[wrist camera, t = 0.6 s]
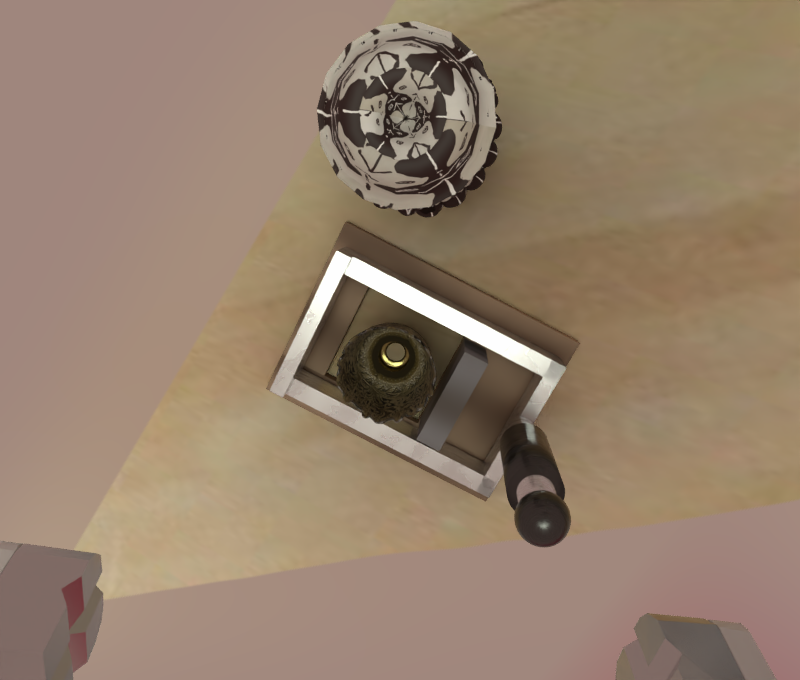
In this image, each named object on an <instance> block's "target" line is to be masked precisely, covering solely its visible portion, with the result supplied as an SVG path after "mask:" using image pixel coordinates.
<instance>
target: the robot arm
mask: <svg viewBox="0 0 800 680" xmlns="http://www.w3.org/2000/svg"><path fill="white" fill-rule="evenodd" d="M101 573H102V565H101V555H99V554H96V553H89V552H81V551H74V550H67V549H59V548H52V547H45V546H37V545H30V544H20V543H13V542H5V541H0V680H73V672H75V671H76V670H77V669H79V668H80V667H81V666H83V665H84V664H85V663H86V662H87V661H88V659H89V657H90V654H91V652H92V649H93V647H94V645H95V642H96V638H97V634H98V631H99V627H100V624H101V620H102V612H103V592H102V591H101V590H100V589H99V588H98V587H97V586H96V583H97V581H98V579H99V577H100V575H101ZM634 630H635V633H636V635H637V638H638V639H637V640H635V641H634V642H632V643H630V644H629V645H627V646H625V647H624V648H623V650H622V652H621V654H620V657H619V659H618V661H617V668H616V680H776V678H775V676H774V674H773V672H772V671H771V669H770V667H769V665H768V664H767V662H766V660H765V659H764V657H763V655H762V653H761V651H760V649H759V648H758V646H757V645H756V643H755V641H754V639H753V637H752V635H751V634H750V632H749V631H748V629H746V628H745V627H744V626H743V625H742V624H741V623H734V622H725V621H716V620H706V619H701V618H691V617H681V616H671V615H660V614H649V613H647V614H645V615H644V616H642V617H640V619H639V620H638V622H637V624H636V626H635V627H634Z"/></svg>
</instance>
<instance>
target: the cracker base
mask: <svg viewBox="0 0 800 680" xmlns="http://www.w3.org/2000/svg"><path fill="white" fill-rule="evenodd" d="M344 247H347V248H349V249H351V250H353V251H355V252H357V253H359V254H361V255H363V256H364V257H366V258H368V259H370V260H372V261H374V262H376V263H378V264H380V265H382V266H384V267H386V268H388V269H390V270H392V271H393V272H395V273H397V274H399V275H401V276H403V277H405V278H407V279H409V280H411V281H413V282H415V283H417V284H419V285H420V286H422V287H424V288H426V289H428V290H430V291H432V292H434V293H436V294H438V295H440V296H442V297H444V298H446V299H447V300H449V301H451V302H453V303H455V304H457V305H459V306H461V307H463V308H465V309H467V310H469V311H471V312H473V313H475V314H476V315H478V316H480V317H482V318H484V319H486V320H488V321H490V322H492V323H494V324H496V325H498V326H500V327H502V328H503V329H505V330H507V331H509V332H511V333H513V334H515V335H517V336H519V337H521V338H523V339H525V340H527V341H529V342H530V343H532V344H534V345H536V346H538V347H540V348H542V349H544V350H546V351H548V352H550V353H552V354H554V355H556V356H558V357H559V358H561V359H562V361H563V362H564V364H565V366H567V364H568V363H569V361H570V359H571V357H572V356H573V354H574V352H575V351H576V349H577V347H578V346H579V344H580V343H579V342H578V341H577V340H575V339H573V338H571V337H569V336H567V335H565V334H563V333H562V332H560V331H558V330H556V329H554V328H552V327H550V326H548V325H546V324H544V323H542V322H540V321H538V320H536V319H535V318H533V317H531V316H529V315H527V314H525V313H523V312H521V311H519V310H517V309H515V308H513V307H511V306H509V305H508V304H506V303H504V302H502V301H500V300H498V299H496V298H494V297H492V296H490V295H488V294H486V293H484V292H483V291H481V290H479V289H477V288H475V287H473V286H471V285H469V284H467V283H465V282H463V281H461V280H459V279H457V278H456V277H454V276H452V275H450V274H448V273H446V272H444V271H442V270H440V269H438V268H436V267H434V266H432V265H430V264H429V263H427V262H425V261H423V260H421V259H419V258H417V257H415V256H413V255H411V254H409V253H407V252H405V251H404V250H402V249H400V248H398V247H396V246H394V245H392V244H390V243H388V242H386V241H384V240H382V239H380V238H378V237H377V236H375V235H373V234H371V233H369V232H367V231H365V230H363V229H361V228H359V227H357V226H355V225H353V224H351V223H350V222H345V224H344V226H343V228H342V231H341V233H340V235H339V237H338V239H337V241H336V243H335V245H334V247H333V249H332V252H331V254H330V256H329V258H328V260H327V262H326V264H325V266H324V268H323V270H322V273H321V275H320V277H319V279H318V281H317V283H316V285H315V287H314V289H313V291H312V293H311V296H310V298H309V300H308V302H307V304H306V306H305V308H304V310H303V312H302V314H301V317H300V319H299V321H298V323H297V325H296V327H295V329H294V331H293V333H292V335H291V338H290V340H289V342H288V344H287V346H286V348H285V350H284V352H283V354H282V356H281V358H280V361H279V363H278V365H277V367H276V369H275V371H274V373H273V375H272V377H271V379H270V382H269V384H268V386H267V388H266V389H267V390H269V391H270V389H271V386H272V384H273V382H274V380H275V378H276V376H277V374H278V372H279V370H280V368H281V366H282V363H283V361H284V359H285V357H286V355H287V353H288V351H289V349H290V347H291V345H292V343H293V340H294V338H295V336H296V334H297V332H298V330H299V328H300V326H301V324H302V322H303V320H304V318H305V315H306V313H307V311H308V309H309V307H310V305H311V303H312V301H313V299H314V297H315V295H316V292H317V290H318V288H319V286H320V284H321V282H322V280H323V278H324V276H325V274H326V272H327V269H328V267H329V265H330V263H331V261H332V259H333V257H334V255H335V253H336V251H337V250H339V249H341V248H344ZM368 288H369V286H367V285H365V284H363V283H361V282H359V281H357V280H355V279H353V278H351V277H349V276H347V278H346V281H345V283H344V285H343V287H342V289H341V291H340V293H339V295H338V297H337V299H336V301H335V303H334V305H333V307H332V309H331V311H330V313H329V315H328V317H327V319H326V321H325V324H324V326H323V328H322V330H321V332H320V334H319V336H318V338H317V340H316V342H315V344H314V346H313V348H312V350H311V352H310V354H309V356H308V358H307V360H306V362H305V365H304V367H303V369H304V370H306V371H308V372H309V373H311V374H313V375H315V376H317V377H319V378H321V379H323V380H325V381H327V382H329V383H331V384H333V385H335V386H337V378H336V377H334V376H332V375H330V374H328V373H327V371H328V369H329V367H330V365H331V363H332V361H333V359H334V357H335V355H336V353H337V351H338V349H339V347H340V345H341V343H342V341H343V339H344V337H345V335H346V333H347V331H348V329H349V327H350V325H351V323H352V321H353V318H354V316H355V314H356V312H357V310H358V308H359V306H360V304H361V302H362V300H363V298H364V296H365V294H366V292H367V290H368ZM534 374H535V372H533V371H531V370H529V369H527V368H525V367H523V366H521V365H519V364H517V363H515V362H514V361H512V360H510V359H508V358H506V357H504V356H502V355H500V354H498V353H496V352H494V351H492V350H490V349H488V348H486V347H485V346H483V345H481V344H479V343H477V342H475V341H473V340H471V339H469V338H467V337H465V336H464V337H463V339H462V341H461V343H460V344H459V346H458V348H457V350H456V352H455V354H454V355H453V357H452V359H451V361H450V363H449V365H448V366H447V368H446V370H445V372H444V374H443V376H442V377H441V379H440V381H439V383H438V385H437V387H436V388H435V390H434V392H433V395H432V396H431V398H430V399H429V401H428V403H427V405H426V407H425V409H424V410H423V412H422V414H421V416H420V418H419V419H416V418H414V417H407V416H404V418H403V419H402V420H403V421H405V422H407V423H409V424H411V425H413V426H415V427H417V428H419V429H418V434H417V440H418V441H420V442H422V443H424V444H426V445H428V446H430V447H432V448H434V449H436V450H437V451H440V449H441V447H442V445H443V444H444V442H446V443H448V444H450V445H452V446H454V447H455V448H457V449H459V450H461V451H463V452H465V453H467V454H469V455H471V456H473V457H475V458H477V459H479V460H481V461H483V462H484V460H485V458H486V457H487V455H488V453H489V452H490V450H491V448H492V446H493V445H494V443H495V441H496V440H497V438H498V436H499V434H500V433H501V431H502V429H503V428H504V426H505V424H506V422H507V421H508V419H509V417H510V416H511V414H512V412H513V410H514V409H515V407H516V405H517V404H518V402H519V400H520V398H521V397H522V395H523V393H524V392H525V390H526V388H527V386H528V385H529V383H530V381H531V380H532V378H533V376H534ZM337 387H338V386H337ZM283 398H285V399H287V400H289V401H291V402H293V403H295V404H296V405H298V406H300V407H302V408H304V409H306V410H308V411H310V412H312V413H314V414H316V415H318V416H320V417H322V418H324V419H326V420H328V421H330V422H332V423H334V424H336V425H337V426H339V427H341V428H343V429H345V430H347V431H349V432H351V433H353V434H355V435H357V436H359V437H361V438H363V439H365V440H367V441H369V442H371V443H373V444H375V445H377V446H378V447H380V448H382V449H384V450H386V451H388V452H390V453H392V454H394V455H396V456H398V457H400V458H402V459H404V460H406V461H408V462H410V463H412V464H414V465H416V466H417V467H419V468H421V469H423V470H425V471H427V472H429V473H431V474H433V475H435V476H437V477H439V478H441V479H443V480H445V481H447V482H449V483H451V484H453V485H455V486H457V487H458V488H460V489H462V490H464V491H466V492H468V493H470V494H472V495H474V496H476V497H478V498H480V499H482V500H484V501H486V500H487V499H488V497H486V496H484V495H482V494H480V493H478V492H476V491H474V490H472V489H470V488H468V487H467V486H465V485H463V484H461V483H459V482H457V481H455V480H453V479H451V478H449V477H447V476H445V475H443V474H441V473H439V472H437V471H435V470H433V469H431V468H429V467H428V466H426V465H424V464H422V463H420V462H418V461H416V460H414V459H412V458H410V457H408V456H406V455H404V454H402V453H400V452H398V451H396V450H394V449H392V448H390V447H388V446H387V445H385V444H383V443H381V442H379V441H377V440H375V439H373V438H371V437H369V436H367V435H365V434H363V433H361V432H359V431H357V430H355V429H353V428H351V427H349V426H348V425H346V424H344V423H342V422H340V421H338V420H336V419H334V418H332V417H330V416H328V415H326V414H324V413H322V412H320V411H318V410H316V409H314V408H312V407H310V406H308V405H307V404H305V403H303V402H301V401H299V400H297V399H295V398H293V397H291V396H289V395H287V394H286V395H285V396H284V397H283Z"/></svg>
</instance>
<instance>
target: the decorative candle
mask: <svg viewBox="0 0 800 680" xmlns="http://www.w3.org/2000/svg"><path fill="white" fill-rule="evenodd" d="M497 105H498V97H497V94H496V89H495V87H494V85H493V84H492V81H491V80H490V79H489V78H488V76H487V74H486V72H485V70H484V68H483V63H482V62H481V60H480V59H479V57H478V56H477V55H476V54H475V53H474V52H473V51H471V50H470V49H469V48H468V47H467V46H466V45H465V44H463V43H462V42H461V41H460V40H459V39H458V38H457V37H456V36H454V35H453V34H452V33H451V32H449V31H446V30H443V29H439V28H436V27H433V26H430V25H427V24H424V23H420V22H417V21H412V22H404V23H396V24H387V25H380V26H378V27H376V28H375V29H373V30H371V31H370V32H368V33H366V34H365V35H363V36H361V37H359V38H358V39H356V40H354V41H353V42H351V43H350V44H348V45H347V47H346V48H345V50H344V51H343V52H342V53H341V55H340V56H339V57H338V59H337V60H336V62H335V63H334V64H333V66H332V67H331V68H330V70H329V71H328V72H327V74H326V78H325V81H324V85H323V88H322V92H321V96H320V100H319V104H318V107H317V114H318V123H319V132H320V141H321V147H322V149H323V150H324V152H325V154H326V156H327V158H328V160H329V162H330V164H331V166H332V168H333V170H334V171H335V173H336V175H337V177H338V178H339V179H340V180H341V181H343V182H344V183H345V184H346V185H347V186H348V187H350V188H351V189H352V190H353V191H354V192H356V193H357V194H358V195H359V196H360V197H361V198H363V199H364V200H367V201H370V202H373V203H374V205H375V206H376V207H379V208H383V209H386V208H392V209H395V210H398V211H399V212H400V213H401V214H403V215H405V216H409V215H412V214H414V213H417V214H419V215H420V216H423V217H433V216H435V215H437V214H438V212H439V211H440V210H441V209H442V207H443V205H444V206H445V207H449V208H451V207H456V206H458V205H460V204H461V203H462V202H463V201H464V199H465V197H466V193H467V190H469V191H470V190H475V189H477V188H478V187H480V185H481V184H482V183H483V181H484V179H485V171H484V169H485V168H486V167H489V166H491V165H492V164H493V163H494V161H495V160H496V157H497V146H496V144H495V143H494V140H495V139H497V138H498V137H499V136H500V134H501V131H502V123H501V119H500V118H499V116H498V115H497V114H496V112H495V108H496V107H497Z"/></svg>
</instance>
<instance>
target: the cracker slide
mask: <svg viewBox="0 0 800 680" xmlns="http://www.w3.org/2000/svg"><path fill="white" fill-rule="evenodd" d="M347 276H349V277H351V278H353V279H355V280H357V281H359V282H361V283H363V284H365V285H367V286H369V287H370V288H372V289H374V290H376V291H378V292H380V293H382V294H384V295H386V296H388V297H390V298H392V299H394V300H396V301H398V302H399V303H401V304H403V305H405V306H407V307H409V308H411V309H413V310H415V311H417V312H419V313H421V314H423V315H425V316H427V317H428V318H430V319H432V320H434V321H436V322H438V323H440V324H442V325H444V326H446V327H448V328H450V329H452V330H454V331H456V332H457V333H459V334H461V335H463V336H465V337H467V338H469V339H471V340H473V341H475V342H477V343H479V344H481V345H483V346H485V347H486V348H488V349H490V350H492V351H494V352H496V353H498V354H500V355H502V356H504V357H506V358H508V359H510V360H512V361H514V362H515V363H517V364H519V365H521V366H523V367H525V368H527V369H529V370H531V371H533V372H535V374H534V376H533V378H532V380H531V381H530V383H529V385H528V386H527V388H526V390H525V392H524V393H523V395H522V397H521V398H520V400H519V402H518V404H517V405H516V407H515V409H514V410H513V412H512V414H511V416H510V417H509V419H508V421H507V422H506V424H505V426H504V428H503V429H502V431H501V433H500V434H499V436H498V438H497V440H496V441H495V443H494V445H493V446H492V448H491V450H490V452H489V453H488V455H487V457H486V458H485V460H484V462H483V461H481V460H479V459H477V458H475V457H473V456H471V455H469V454H467V453H465V452H463V451H461V450H459V449H457V448H455V447H454V446H452V445H450V444H448V443H446V442H444V444H443V445H442V447H441V449H440V451H437V450H436V449H434V448H432V447H430V446H428V445H426V444H424V443H422V442H420V441H418V440H417V434H418V429H419V428H417V427H415V426H413V425H411V424H409V423H407V422H405V421H403V420H402V421H400V422H399V423H395V422H394V421H393V420H390V421H388V422H386V423H383V424H376V423H374V421H373V420H372V419H371V418H370V417H369V418H367V419H366V418H363V417H362V413H361V410H359V409H357V408H355V406H354V404H353V403H352V402H350V403H348V404H347V403H345V401H344V400H343V394H342V393H341V391H340V389H339V388H338V387H337V386H335V385H333V384H331V383H329V382H327V381H325V380H323V379H321V378H319V377H317V376H315V375H313V374H311V373H309V372H308V371H306V370H304V369H303V367H304V365H305V362H306V360H307V358H308V356H309V354H310V352H311V350H312V348H313V346H314V344H315V342H316V340H317V338H318V336H319V334H320V332H321V330H322V328H323V326H324V324H325V321H326V319H327V317H328V315H329V313H330V311H331V309H332V307H333V305H334V303H335V301H336V299H337V297H338V295H339V293H340V291H341V289H342V287H343V285H344V283H345V281H346V278H347ZM566 368H567V367H566V366H565V364H564V362H563V361H562V359H561V358H559V357H558V356H556V355H554V354H552V353H550V352H548V351H546V350H544V349H542V348H540V347H538V346H536V345H534V344H532V343H530V342H529V341H527V340H525V339H523V338H521V337H519V336H517V335H515V334H513V333H511V332H509V331H507V330H505V329H503V328H502V327H500V326H498V325H496V324H494V323H492V322H490V321H488V320H486V319H484V318H482V317H480V316H478V315H476V314H475V313H473V312H471V311H469V310H467V309H465V308H463V307H461V306H459V305H457V304H455V303H453V302H451V301H449V300H447V299H446V298H444V297H442V296H440V295H438V294H436V293H434V292H432V291H430V290H428V289H426V288H424V287H422V286H420V285H419V284H417V283H415V282H413V281H411V280H409V279H407V278H405V277H403V276H401V275H399V274H397V273H395V272H393V271H392V270H390V269H388V268H386V267H384V266H382V265H380V264H378V263H376V262H374V261H372V260H370V259H368V258H366V257H364V256H363V255H361V254H359V253H357V252H355V251H353V250H351V249H349V248H347V247H344V248H341V249H339V250H337V251H336V253H335V255H334V257H333V259H332V261H331V263H330V265H329V267H328V269H327V272H326V274H325V276H324V278H323V280H322V282H321V284H320V286H319V288H318V290H317V292H316V295H315V297H314V299H313V301H312V303H311V305H310V307H309V309H308V311H307V313H306V315H305V318H304V320H303V322H302V324H301V326H300V328H299V330H298V332H297V334H296V336H295V338H294V340H293V343H292V345H291V347H290V349H289V351H288V353H287V355H286V357H285V359H284V361H283V363H282V366H281V368H280V370H279V372H278V374H277V376H276V378H275V380H274V382H273V384H272V386H271V389H270V391H271V392H273V393H275V394H277V395H279V396H281V397H284V396H285V395H286V394H287V395H289V396H291V397H293V398H295V399H297V400H299V401H301V402H303V403H305V404H307V405H308V406H310V407H312V408H314V409H316V410H318V411H320V412H322V413H324V414H326V415H328V416H330V417H332V418H334V419H336V420H338V421H340V422H342V423H344V424H346V425H348V426H349V427H351V428H353V429H355V430H357V431H359V432H361V433H363V434H365V435H367V436H369V437H371V438H373V439H375V440H377V441H379V442H381V443H383V444H385V445H387V446H388V447H390V448H392V449H394V450H396V451H398V452H400V453H402V454H404V455H406V456H408V457H410V458H412V459H414V460H416V461H418V462H420V463H422V464H424V465H426V466H428V467H429V468H431V469H433V470H435V471H437V472H439V473H441V474H443V475H445V476H447V477H449V478H451V479H453V480H455V481H457V482H459V483H461V484H463V485H465V486H467V487H468V488H470V489H472V490H474V491H476V492H478V493H480V494H482V495H484V496H486V497H488V498H489V497H490V495H491V494H492V492H493V490H494V489H495V487H496V485H497V484H498V482H499V480H500V479H501V477H502V475H503V474H504V479H505V485H506V492H507V498H508V501H509V503H510V505H511V507H512V508H513V509H514V510H515V514H514V520H515V525H516V528H517V530H518V532H519V534H520V535H521V536H522V538H523V539H524V540H526V541H527V542H528V543H530V544H532V545H535V546H538V547H551V546H554V545H556V544H558V543H560V542H561V541H562V540H563V539H564V538H565V537H566V535H567V533H568V531H569V529H570V525H571V516H570V511H569V509H568V507H567V505H566V503H565V502H564V501H563V500H564V497H565V488H564V484H563V482H562V479H561V476H560V473H559V470H558V468H557V465H556V462H555V459H554V457H553V454H552V451H551V448H550V445H549V443H548V440H547V437H546V435H545V434H544V432H543V431H542V430H541V429H540V428H539V427H537V426H535V425H534V424H533V423H534V421H535V420H536V418H537V416H538V415H539V413H540V411H541V410H542V408H543V406H544V405H545V403H546V401H547V400H548V398H549V396H550V395H551V393H552V391H553V390H554V388H555V386H556V385H557V383H558V381H559V379H560V378H561V376H562V374H563V373H564V371H565V369H566Z"/></svg>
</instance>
